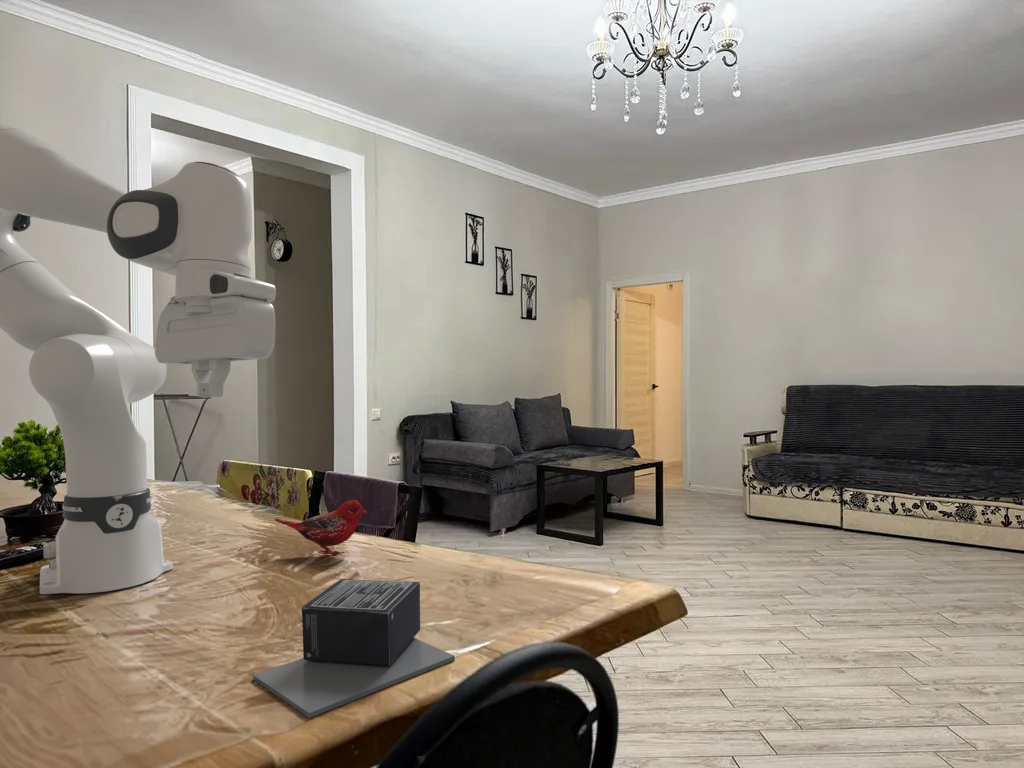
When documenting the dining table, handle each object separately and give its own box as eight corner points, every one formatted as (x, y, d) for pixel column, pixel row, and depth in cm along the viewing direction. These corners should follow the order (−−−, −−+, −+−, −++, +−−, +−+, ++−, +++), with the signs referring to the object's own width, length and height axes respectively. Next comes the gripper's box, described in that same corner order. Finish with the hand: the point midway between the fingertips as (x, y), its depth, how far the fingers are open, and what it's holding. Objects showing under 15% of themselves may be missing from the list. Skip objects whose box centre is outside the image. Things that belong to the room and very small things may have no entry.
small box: (301, 664, 77) (390, 670, 75) (299, 606, 76) (388, 610, 74) (343, 628, 87) (423, 631, 85) (341, 576, 87) (421, 579, 85)
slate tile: (253, 679, 74) (253, 674, 74) (392, 632, 87) (392, 628, 87) (309, 718, 65) (309, 713, 65) (454, 660, 78) (454, 655, 78)
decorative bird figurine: (364, 558, 121) (363, 501, 121) (271, 555, 124) (270, 499, 124) (370, 554, 124) (369, 498, 124) (279, 550, 127) (278, 496, 127)
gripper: (144, 293, 92) (140, 397, 91) (241, 276, 81) (238, 394, 80) (188, 301, 97) (184, 399, 96) (285, 286, 86) (282, 396, 86)
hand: (209, 397), depth 88 cm, fingers closed
